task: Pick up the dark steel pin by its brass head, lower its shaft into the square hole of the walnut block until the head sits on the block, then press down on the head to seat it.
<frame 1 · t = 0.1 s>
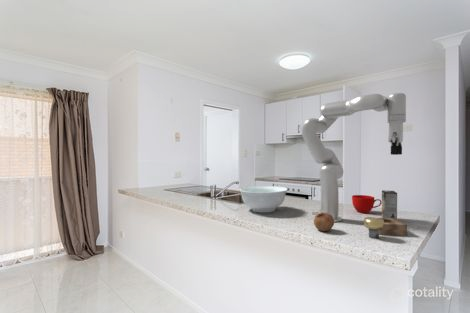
hand: (396, 154, 123), 37 cm above the counter, tool pointing down, fingers open, 9 cm apart
block: (386, 231, 123), on the counter
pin: (373, 237, 114), on the counter
ceramic cup: (366, 212, 163), on the counter
onion: (323, 230, 124), on the counter
bowl: (263, 210, 170), on the counter
coffee box: (389, 219, 145), on the counter
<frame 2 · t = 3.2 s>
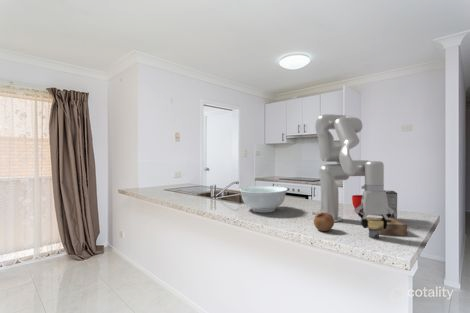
hand: (374, 227, 114), 4 cm above the counter, tool pointing down, fingers closed on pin, 7 cm apart
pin: (373, 237, 114), on the counter, touching gripper
everything else where it was.
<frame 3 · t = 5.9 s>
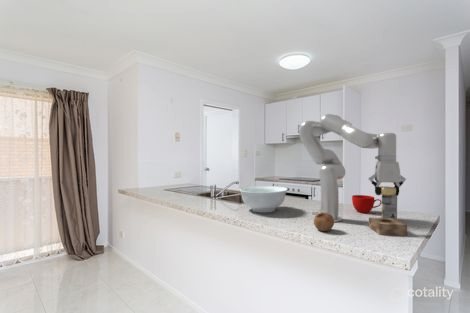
hand: (386, 194, 122), 18 cm above the counter, tool pointing down, fingers closed on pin, 7 cm apart
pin: (386, 203, 122), point 13 cm above the counter, touching gripper
everything else where it was.
when the fingers open (6 cm above the counter, at t = 8.5 s): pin stays where it is, resting on block.
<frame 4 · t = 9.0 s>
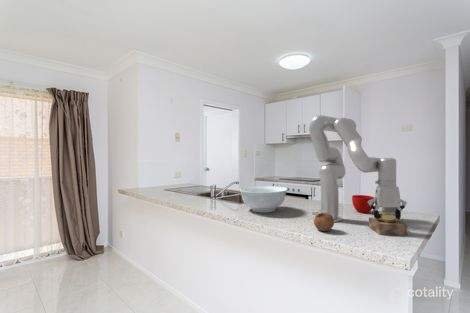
hand: (386, 218, 123), 6 cm above the counter, tool pointing down, fingers open, 9 cm apart
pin: (386, 230, 123), resting on block
everything else where it was.
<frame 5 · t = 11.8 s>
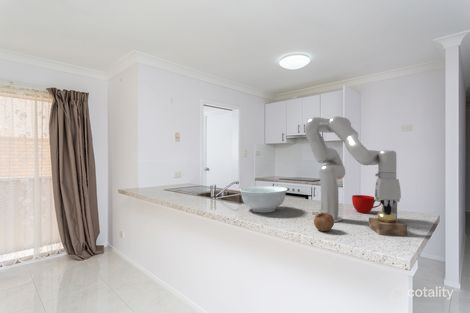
hand: (387, 213, 122), 9 cm above the counter, tool pointing down, fingers closed
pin: (386, 230, 123), resting on block, touching gripper
everything else where it was.
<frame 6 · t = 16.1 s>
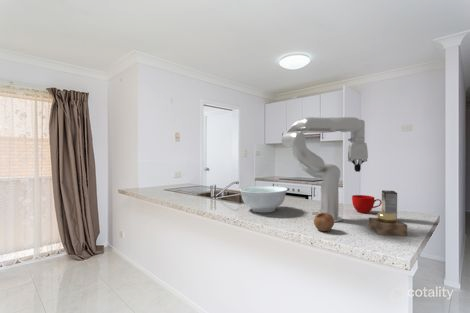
hand: (357, 171, 151), 27 cm above the counter, tool pointing down, fingers closed
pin: (386, 230, 123), resting on block
everything else where it was.
at the end: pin 0.1 cm off-centre on the block, point 0.4 cm above the block's base; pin tilted 0°; the gripper is holding nothing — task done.
